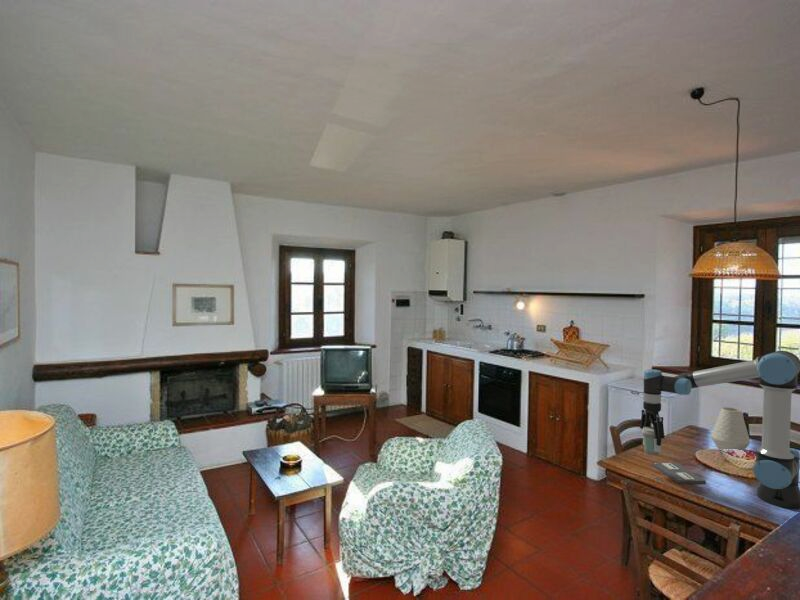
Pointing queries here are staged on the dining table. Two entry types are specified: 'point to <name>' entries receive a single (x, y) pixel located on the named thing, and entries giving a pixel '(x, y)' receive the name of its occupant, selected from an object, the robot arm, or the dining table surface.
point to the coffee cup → (649, 440)
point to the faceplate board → (678, 473)
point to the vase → (730, 430)
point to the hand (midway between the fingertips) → (651, 447)
